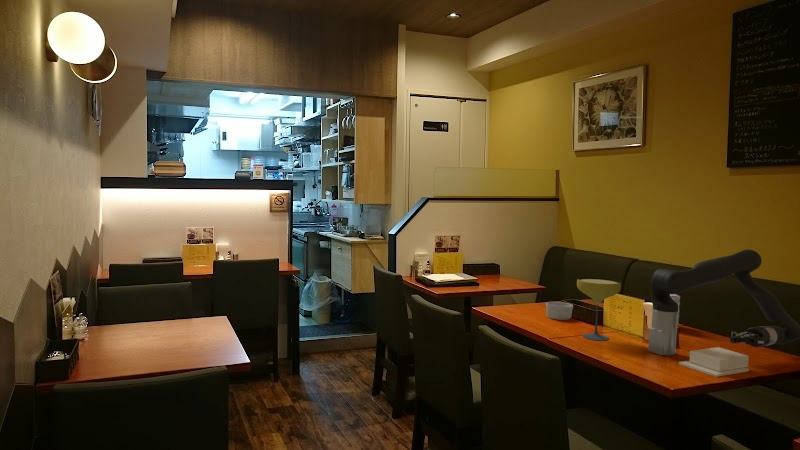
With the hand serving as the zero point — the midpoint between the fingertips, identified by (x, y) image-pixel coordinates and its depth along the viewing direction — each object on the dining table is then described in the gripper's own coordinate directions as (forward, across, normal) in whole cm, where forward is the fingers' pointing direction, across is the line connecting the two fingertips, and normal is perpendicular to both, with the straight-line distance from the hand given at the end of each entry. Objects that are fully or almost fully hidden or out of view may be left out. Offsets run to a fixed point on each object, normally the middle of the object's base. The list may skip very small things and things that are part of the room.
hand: (732, 340), depth 214 cm
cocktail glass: (+20, -48, +10) cm, 53 cm away
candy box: (-29, -51, +10) cm, 59 cm away
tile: (-1, 0, +6) cm, 6 cm away
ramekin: (+9, -84, +10) cm, 85 cm away
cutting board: (+10, 0, +10) cm, 13 cm away
